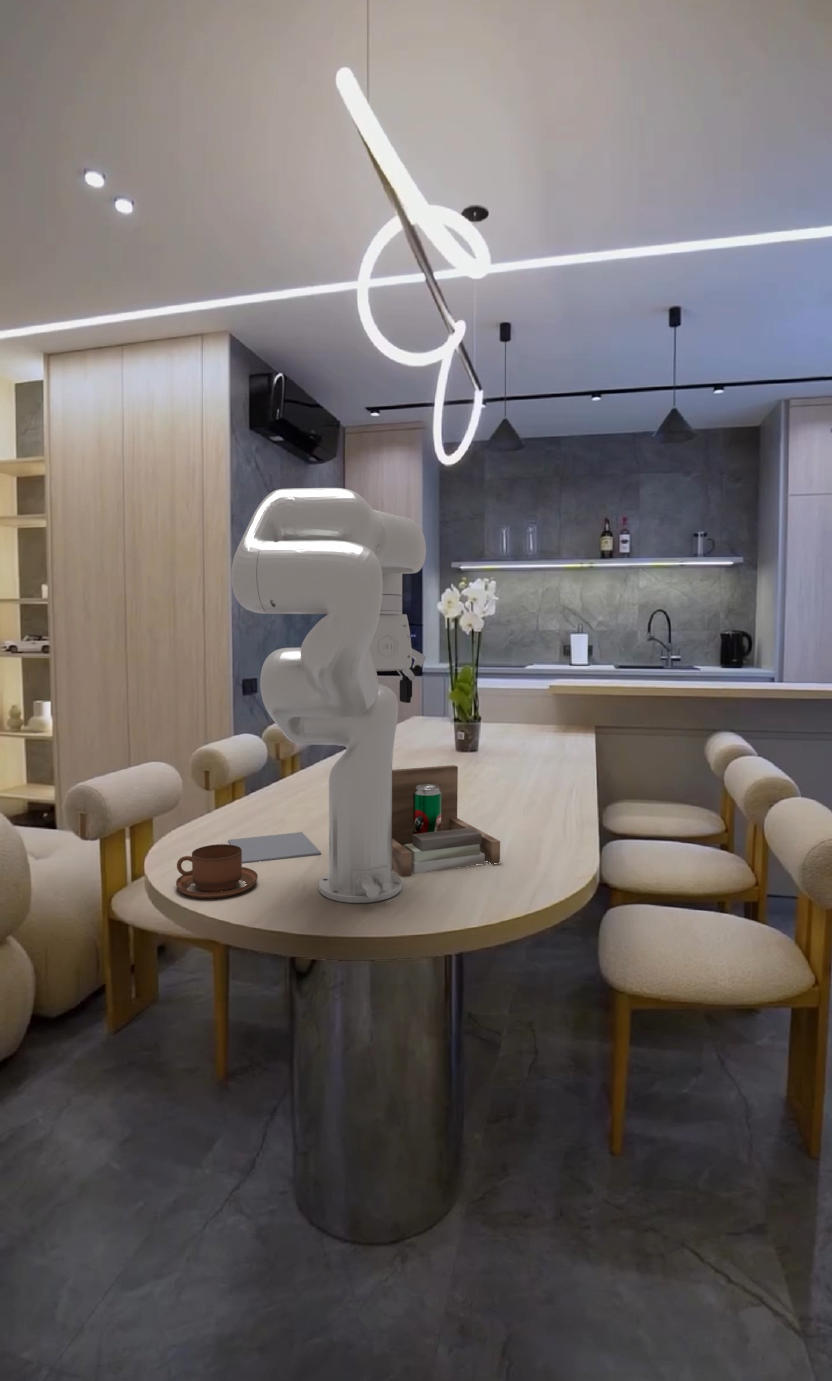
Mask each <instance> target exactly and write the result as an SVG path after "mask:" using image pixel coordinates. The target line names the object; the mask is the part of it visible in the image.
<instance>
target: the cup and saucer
mask: <svg viewBox="0 0 832 1381" xmlns="http://www.w3.org/2000/svg"><path fill="white" fill-rule="evenodd" d="M185 861H188V862H191V866H192V868H191V870H188V871H187V870H184V869H183V868H182V865H183V862H185ZM176 869H177V871H178V872H179V874H180V876H179V877H178V878H177V879H176V880H175V886H176V887H177V889H178V891H180V892H181V893H182V894H184V895H186V896H188V897H193V898H196V899H221V898H228V897H232V896H236V895H239V894H242V893H244V892H246V891H247V890H250V889H251V888H252V887H253V886H254V884H256V883H257V881H258V877H259V876H258V873H257V871H255V870H253V869H252V868H249V867H244V866H243V863H242V849H241V848H240V847H238V846H235V845H230V844H229V843H228V844H227V843H226V844H225V843H223V844H221V843H220V844H209V845H206V846H200V847H198V848H195V849H194V850H193V851H192V852H191V855H185V856H181V857H180V858H179V859H178V860H177V862H176ZM240 881H241V882H243V881H245V882H246V883H244V886H242V887H239V888H235V887H236V886H237V885H238V884H239V882H240ZM191 884H192V885H195V886H196V888H198V889H199V890H201V891H203V892H198V891H191V890H188V889H189V887H190V886H192V885H191ZM245 884H247V885H246V886H245ZM187 888H188V889H187ZM233 888H235V889H233ZM205 891H206V892H205ZM221 891H223V892H221Z"/></svg>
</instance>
